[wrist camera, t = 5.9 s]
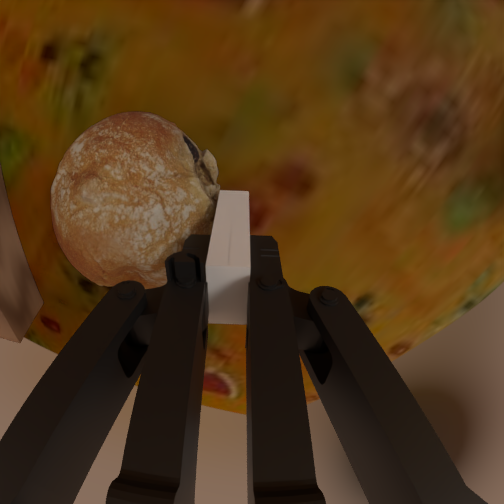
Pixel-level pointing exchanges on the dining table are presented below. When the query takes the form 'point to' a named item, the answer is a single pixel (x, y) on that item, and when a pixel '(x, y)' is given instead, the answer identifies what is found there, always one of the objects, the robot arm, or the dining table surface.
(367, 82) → the dining table surface
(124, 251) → the bread roll
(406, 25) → the dining table surface
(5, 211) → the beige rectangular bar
